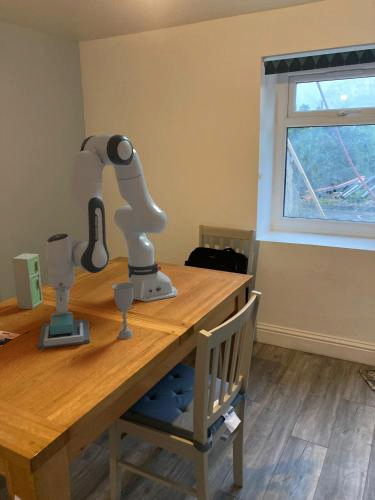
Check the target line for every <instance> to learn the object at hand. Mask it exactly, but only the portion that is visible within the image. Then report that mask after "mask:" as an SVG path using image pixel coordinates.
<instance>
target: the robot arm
mask: <svg viewBox="0 0 375 500" xmlns="http://www.w3.org/2000/svg"><path fill="white" fill-rule="evenodd" d="M106 166H112V167H113V168H114V174H115V177H116V178H115V179H116V183H117V186H118V190H119V195H120V197H121V199H123V200H124V201H125V202H126V203H127V204H128V205H122V206H119V207H118V208H117V209H116V210H115V212H114V215H113V220H114V224H115V225H116V227H117V228H118V229H120V231H121V233H122V235H123V237H124V240H125V243H126V247H127V255H128V256H127V258H128V264H127V277H128V282H127V283H133V284H134V287H133V300H138V301H141V302H152V301H156V300H164V299H169V298H174V297H176V296H178V290H177V288H176V287H175V286H173V284H172V280H171V278H169V276H167V275H166V274H165V273H163V272H161V270H162V266H161V265H159V263H157V262H155V246H154V244H153V243H152V241H150V240H149V239H148V237H147V234H148V235H156V234H160V233H163V232H164V231H165V230H166V228H167V226H168V216H167V214H166V212H165V211H163V210H162V209H161V208H160V207H159V206H158V205H157V204H156V203H155V201H154V199H153V198H152V196H151V194H150V192H149V190H148V186H147V183H146V178H145V174H144V170H143V165H142V162H141V160H140V157H139V154H138V153H137V150H136V149H134V147H133V144H132V142H131V141H130V139H129V138H128V137H126V136H125V135H121V134H111V133H109V134H100V135H99V134H98V135H91V136H88V137H86V138H85V139H84V140H83V142H82V143H81V145H80V150H79V151H78V152H77V153H76V154H75V155H74V157H73V162H72V164H71V173H70V182H69V191H70V198H71V200H72V202H73V203H74V204H75V206H77V207H78V208H79V209H80V210H81V212H82V213H83V215H84V216H85V218H86V227H87V228H86V230H87V240H85V239H80V238H75V237H74V236H73V237H72V236H71V235H69V234H68V233H58V234H54V235H52V236H50V237H49V238H47V241H46V245H45V257H46V262H47V265H48V266H47V267H48V268H47V269H48V270H47V279H48V280H47V281H48V286H49V287H51V288H52V290H53V291H55V293H54V294H55V297H54V298H55V311H56V313H67V312H69V301H70V290H71V289H72V286H73V285H74V284H75V271H74V268H75V267H80V268H82V269H83V270H86V272H89V273H90V274H98V273H100V272H102V271H104V269H105V268H106V267H107V266H108V263H109V261H110V252H109V250H108V246H107V234H106V233H107V232H106V211H105V205H104V200H103V192H102V190H103V187H102V186H103V170H104V168H105V167H106Z"/></svg>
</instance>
